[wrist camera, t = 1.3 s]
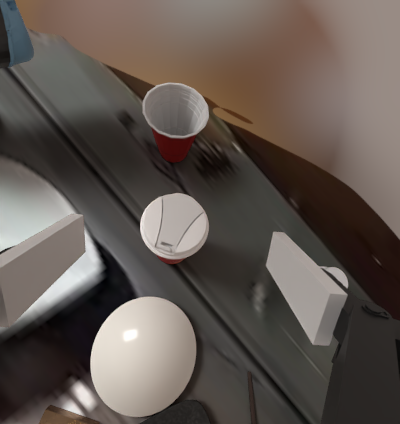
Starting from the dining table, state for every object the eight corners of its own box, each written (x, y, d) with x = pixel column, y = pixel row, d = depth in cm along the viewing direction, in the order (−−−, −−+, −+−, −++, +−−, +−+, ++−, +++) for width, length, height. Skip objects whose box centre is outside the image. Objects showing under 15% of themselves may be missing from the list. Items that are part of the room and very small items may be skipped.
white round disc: (72, 392, 30) (68, 395, 29) (121, 283, 35) (120, 283, 34) (174, 427, 30) (175, 433, 29) (207, 314, 36) (208, 315, 35)
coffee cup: (185, 277, 37) (198, 268, 23) (140, 261, 37) (126, 242, 23) (201, 233, 40) (219, 202, 27) (159, 218, 40) (156, 178, 26)
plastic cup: (153, 178, 43) (149, 138, 32) (142, 135, 46) (135, 84, 35) (205, 169, 45) (218, 129, 34) (191, 128, 49) (199, 80, 38)
